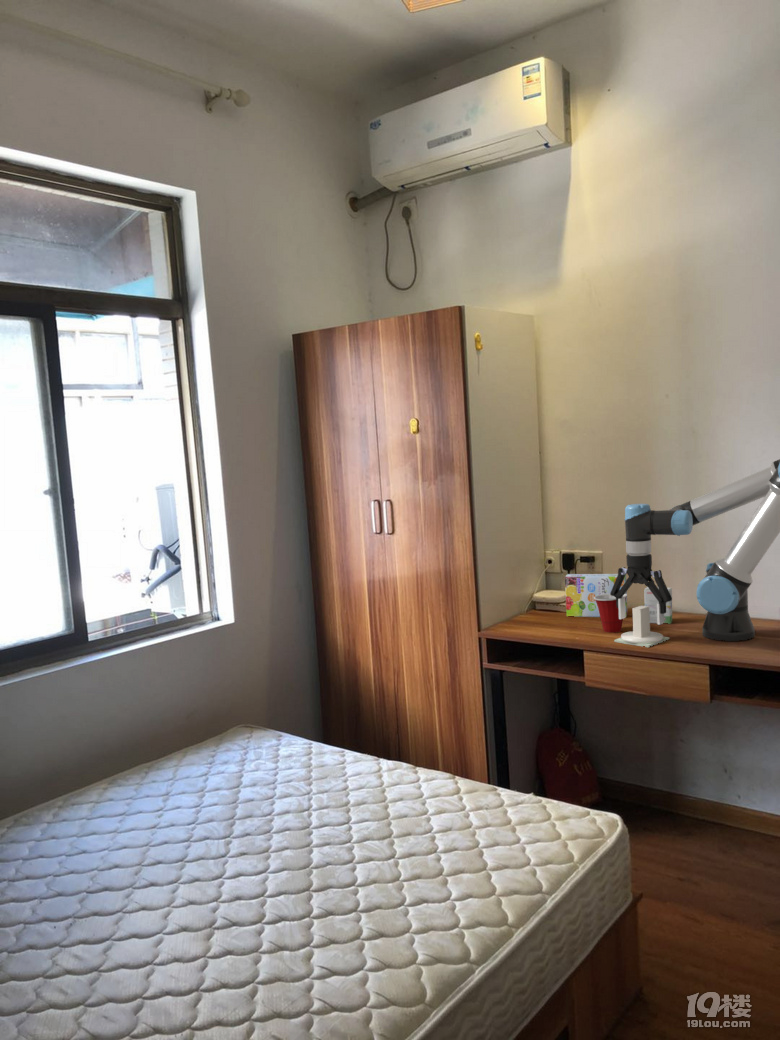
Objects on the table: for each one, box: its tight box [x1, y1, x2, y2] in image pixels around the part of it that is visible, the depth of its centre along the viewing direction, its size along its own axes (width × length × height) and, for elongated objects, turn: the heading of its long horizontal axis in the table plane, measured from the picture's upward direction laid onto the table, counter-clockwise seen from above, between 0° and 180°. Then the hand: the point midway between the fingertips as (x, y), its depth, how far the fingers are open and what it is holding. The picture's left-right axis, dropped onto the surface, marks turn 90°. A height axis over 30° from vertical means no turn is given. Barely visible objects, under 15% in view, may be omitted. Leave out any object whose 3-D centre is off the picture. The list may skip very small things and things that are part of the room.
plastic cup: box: [594, 593, 628, 633], centre depth 270 cm, size 11×11×12 cm
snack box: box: [564, 573, 629, 618], centre depth 293 cm, size 21×6×15 cm, turn 69°
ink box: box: [643, 586, 673, 625], centre depth 278 cm, size 9×5×12 cm, turn 63°
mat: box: [613, 636, 670, 648], centre depth 255 cm, size 12×12×1 cm
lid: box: [620, 605, 664, 644], centre depth 255 cm, size 13×13×10 cm
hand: (641, 621), depth 255 cm, fingers open, 13 cm apart
